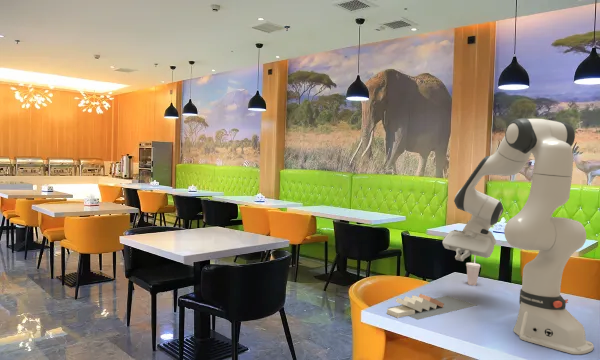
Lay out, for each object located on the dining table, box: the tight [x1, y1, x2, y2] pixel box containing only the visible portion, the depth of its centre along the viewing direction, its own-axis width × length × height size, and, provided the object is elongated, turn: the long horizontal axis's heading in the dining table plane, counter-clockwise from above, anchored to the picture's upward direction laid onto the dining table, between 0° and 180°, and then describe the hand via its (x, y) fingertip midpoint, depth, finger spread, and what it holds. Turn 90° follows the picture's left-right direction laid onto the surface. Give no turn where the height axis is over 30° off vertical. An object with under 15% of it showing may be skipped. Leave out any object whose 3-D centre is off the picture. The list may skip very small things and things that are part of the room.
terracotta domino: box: [418, 293, 444, 308], centre depth 169 cm, size 2×5×9 cm
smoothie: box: [465, 255, 481, 286], centre depth 210 cm, size 6×6×14 cm
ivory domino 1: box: [386, 306, 415, 319], centre depth 159 cm, size 2×5×9 cm
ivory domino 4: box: [411, 294, 437, 309], centre depth 167 cm, size 2×5×9 cm
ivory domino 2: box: [395, 297, 422, 312], centre depth 162 cm, size 2×5×9 cm
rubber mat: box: [388, 295, 478, 321], centre depth 170 cm, size 14×36×1 cm, turn 126°
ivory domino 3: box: [403, 296, 430, 311], centre depth 164 cm, size 2×5×9 cm
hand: (458, 259), depth 177 cm, fingers closed
